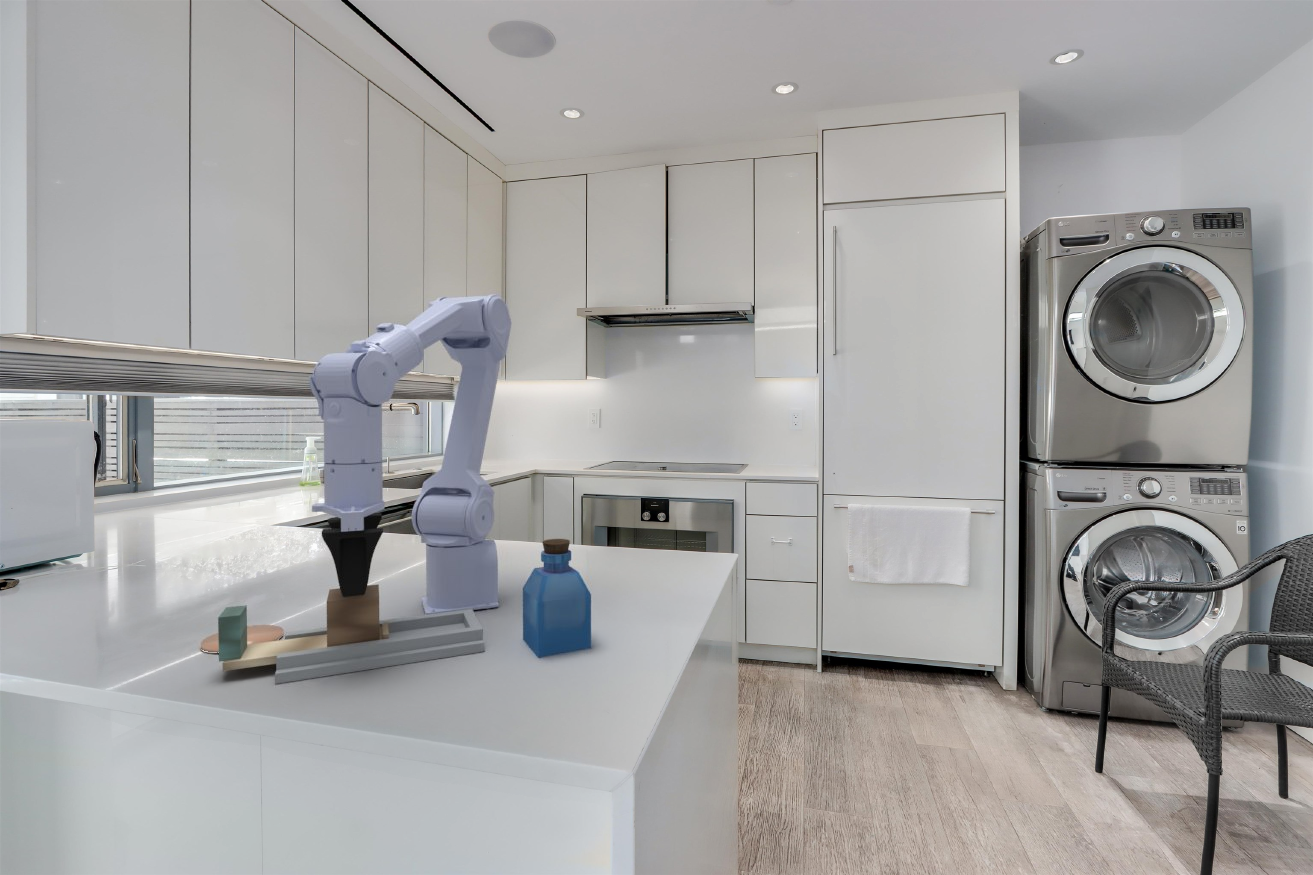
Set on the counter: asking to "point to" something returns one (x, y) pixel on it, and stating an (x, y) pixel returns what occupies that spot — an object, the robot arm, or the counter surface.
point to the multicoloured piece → (259, 654)
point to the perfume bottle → (556, 604)
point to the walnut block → (353, 617)
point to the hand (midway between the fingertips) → (354, 586)
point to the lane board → (386, 646)
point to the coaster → (253, 636)
